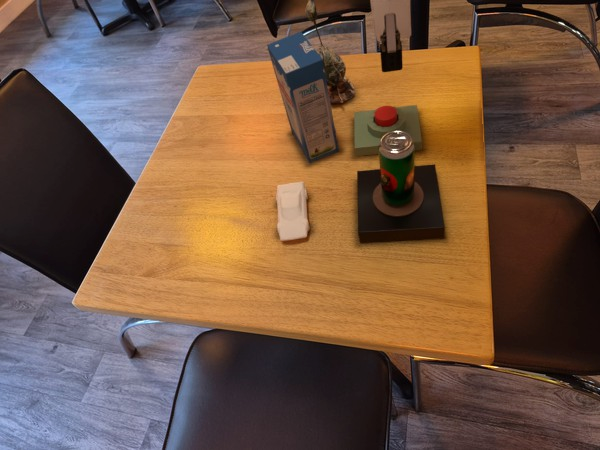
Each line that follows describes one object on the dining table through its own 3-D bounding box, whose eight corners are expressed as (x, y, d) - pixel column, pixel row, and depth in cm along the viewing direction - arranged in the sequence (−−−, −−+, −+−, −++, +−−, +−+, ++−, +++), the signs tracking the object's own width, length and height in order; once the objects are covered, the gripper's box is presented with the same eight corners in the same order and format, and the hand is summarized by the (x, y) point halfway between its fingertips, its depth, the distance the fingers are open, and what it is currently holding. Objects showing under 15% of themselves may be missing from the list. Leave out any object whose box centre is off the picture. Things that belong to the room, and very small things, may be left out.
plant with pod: (317, 114, 91) (297, 24, 76) (318, 80, 98) (300, -9, 82) (356, 109, 90) (344, 16, 74) (354, 75, 97) (343, -17, 81)
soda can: (412, 209, 68) (412, 155, 59) (379, 206, 70) (374, 153, 61) (416, 185, 71) (417, 129, 62) (384, 182, 73) (381, 128, 63)
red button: (396, 111, 82) (396, 104, 80) (397, 126, 79) (397, 118, 78) (374, 114, 83) (374, 106, 81) (375, 128, 80) (374, 121, 79)
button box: (416, 113, 86) (417, 97, 82) (421, 150, 80) (422, 133, 77) (355, 120, 88) (353, 104, 85) (355, 156, 82) (353, 140, 79)
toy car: (279, 246, 74) (274, 235, 71) (278, 192, 81) (273, 180, 78) (311, 241, 73) (307, 229, 70) (307, 187, 80) (303, 175, 77)
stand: (434, 176, 76) (435, 162, 73) (443, 238, 68) (445, 226, 66) (358, 182, 78) (356, 169, 76) (359, 243, 71) (357, 231, 68)
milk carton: (339, 151, 84) (322, 59, 68) (309, 163, 83) (285, 74, 68) (319, 121, 90) (300, 30, 74) (292, 133, 90) (266, 44, 74)
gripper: (421, -37, 50) (420, 95, 64) (411, -88, 59) (412, 38, 73) (355, -25, 52) (369, 101, 66) (355, -76, 60) (367, 45, 75)
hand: (391, 68), depth 69 cm, fingers closed
